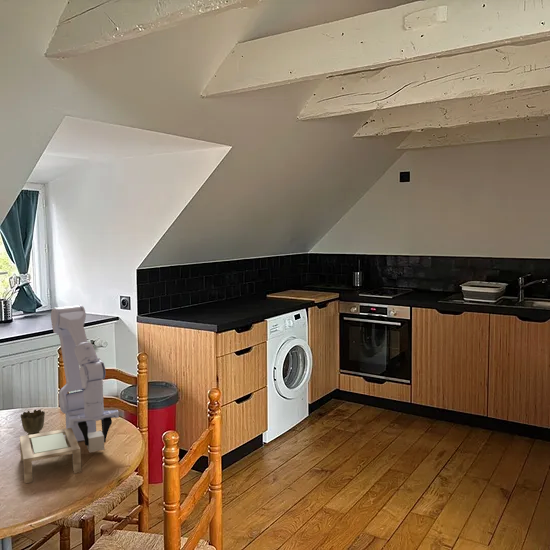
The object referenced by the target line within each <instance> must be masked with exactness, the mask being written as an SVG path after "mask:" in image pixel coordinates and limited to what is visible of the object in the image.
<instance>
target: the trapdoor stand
mask: <svg viewBox="0 0 550 550" xmlns="http://www.w3.org/2000/svg"><path fill="white" fill-rule="evenodd" d="M59 433H63V435H65V437H64V438H65V440H66V443H67V446H68V448H63V449H58V450H52V451H47V452H41V453H36V454H34V452H33V448H32V443H31V438H35V437H41V436H47V435H53V434H59ZM19 448H20V449H19V450H20V461H21V462H23V477H24V478H23V479H24V480H23V481H24V484H29V483H33V482H34V481H33V478H34V477H33V464H32V463H33V462H34V461H35V462H36V461H40V460H41V461H42V460H46V459H51V458H56V457H61V456H68V454H69V455H72V471H74V472H73V474H77V472H79V473H82V459H81V458H82V457H81V456H82V455H81V447H80V445H79V441H77V440H76V437H75V435H74V433H73V430H72V428H68V429H66V428H63V429H57V430H50V431H44V432H40V433H38V434H32V435H28V434H27V435H21V436H19Z"/></svg>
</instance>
